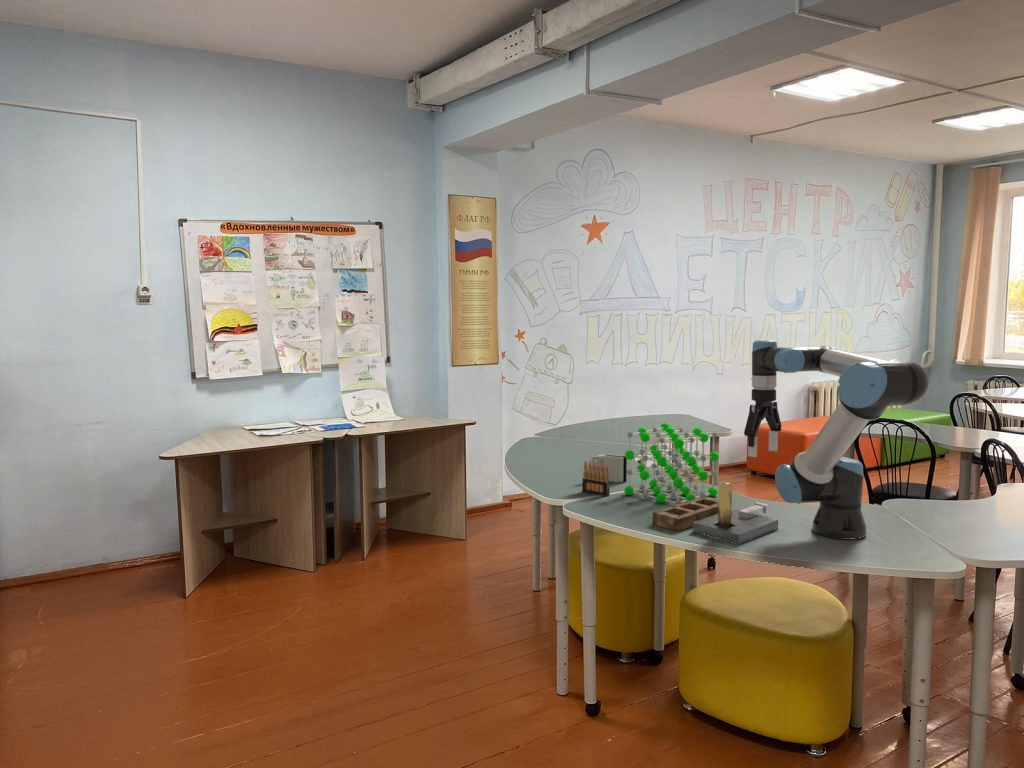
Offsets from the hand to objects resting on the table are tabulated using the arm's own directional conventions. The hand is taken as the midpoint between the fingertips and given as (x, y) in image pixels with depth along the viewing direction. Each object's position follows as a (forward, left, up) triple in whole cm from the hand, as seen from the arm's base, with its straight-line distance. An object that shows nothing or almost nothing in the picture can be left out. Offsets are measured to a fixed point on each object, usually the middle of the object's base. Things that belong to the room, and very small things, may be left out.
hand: (762, 453), depth 245 cm
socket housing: (-3, +19, -21) cm, 28 cm away
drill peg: (-3, +25, -21) cm, 33 cm away
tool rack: (+13, +19, -21) cm, 31 cm away
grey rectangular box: (+64, +2, -21) cm, 68 cm away
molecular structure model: (+35, +1, -21) cm, 41 cm away
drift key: (-3, +9, -18) cm, 20 cm away
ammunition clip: (+55, +19, -21) cm, 62 cm away
